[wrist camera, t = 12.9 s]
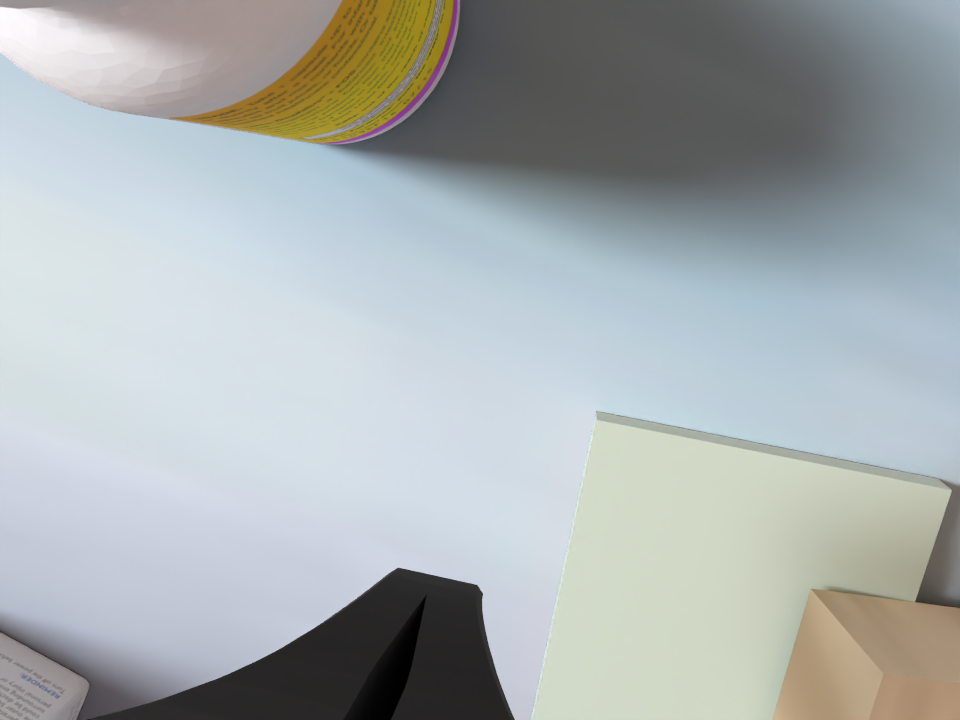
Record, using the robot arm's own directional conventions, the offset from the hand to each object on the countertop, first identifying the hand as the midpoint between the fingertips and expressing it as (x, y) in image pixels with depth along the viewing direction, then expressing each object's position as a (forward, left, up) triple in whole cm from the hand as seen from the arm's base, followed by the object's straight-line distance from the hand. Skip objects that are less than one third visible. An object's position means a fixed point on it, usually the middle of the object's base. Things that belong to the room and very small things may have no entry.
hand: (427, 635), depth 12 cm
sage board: (-6, -7, -10) cm, 14 cm away
